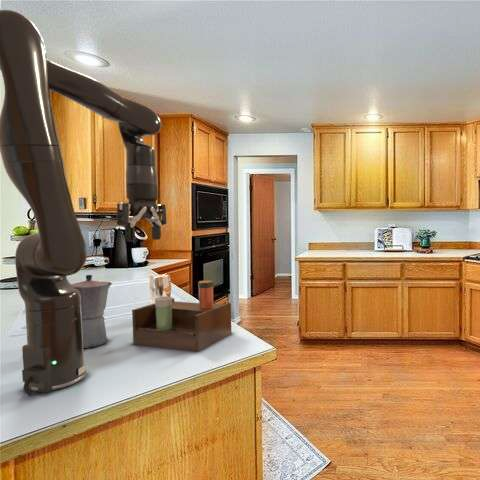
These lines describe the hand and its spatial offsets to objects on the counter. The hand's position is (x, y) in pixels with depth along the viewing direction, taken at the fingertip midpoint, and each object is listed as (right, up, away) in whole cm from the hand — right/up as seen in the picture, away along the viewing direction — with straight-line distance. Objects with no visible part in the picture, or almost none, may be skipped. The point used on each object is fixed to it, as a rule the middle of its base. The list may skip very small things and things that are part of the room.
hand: (144, 240), depth 99 cm
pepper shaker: (+14, -21, +8) cm, 26 cm away
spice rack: (+8, -30, +7) cm, 31 cm away
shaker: (+4, -26, +4) cm, 26 cm away
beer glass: (-12, -28, +30) cm, 43 cm away
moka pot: (-17, -30, +1) cm, 35 cm away
